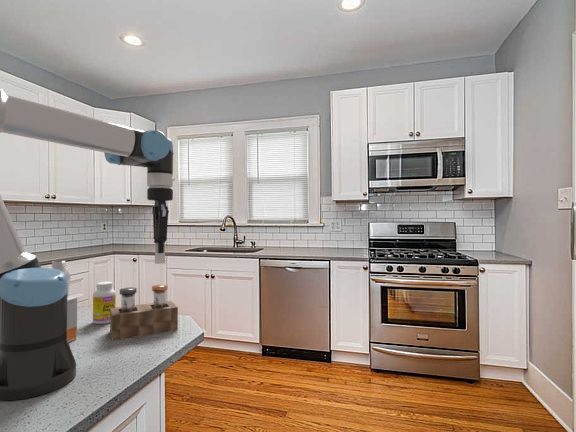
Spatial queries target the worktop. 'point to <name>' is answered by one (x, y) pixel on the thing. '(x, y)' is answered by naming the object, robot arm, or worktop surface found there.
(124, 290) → the charcoal plunger
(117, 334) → the walnut block
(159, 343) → the worktop surface
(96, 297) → the supplement bottle
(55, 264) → the plastic bottle
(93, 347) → the worktop surface
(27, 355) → the robot arm
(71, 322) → the skincare box
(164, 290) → the rust plunger
